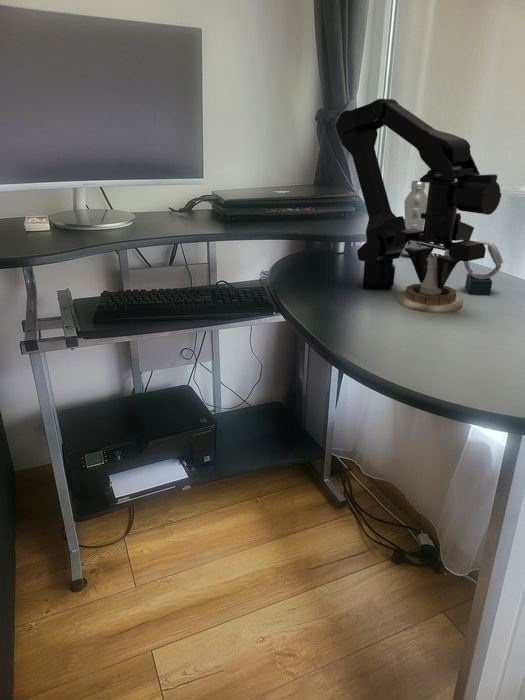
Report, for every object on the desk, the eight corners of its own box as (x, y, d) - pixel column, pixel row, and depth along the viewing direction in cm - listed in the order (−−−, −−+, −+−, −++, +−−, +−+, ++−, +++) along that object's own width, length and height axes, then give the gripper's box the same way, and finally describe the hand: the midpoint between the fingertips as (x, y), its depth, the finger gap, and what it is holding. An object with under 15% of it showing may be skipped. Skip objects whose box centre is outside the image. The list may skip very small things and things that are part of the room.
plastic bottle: (399, 258, 143) (407, 182, 135) (397, 252, 149) (405, 180, 141) (423, 258, 142) (432, 183, 134) (420, 253, 148) (429, 180, 140)
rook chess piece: (443, 291, 107) (449, 253, 104) (438, 297, 104) (443, 258, 100) (422, 288, 109) (427, 251, 106) (416, 293, 106) (420, 255, 103)
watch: (499, 295, 111) (508, 245, 106) (460, 294, 112) (468, 243, 108) (494, 288, 116) (503, 239, 111) (456, 286, 117) (464, 238, 113)
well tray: (398, 310, 103) (399, 297, 102) (396, 291, 114) (398, 280, 113) (466, 314, 100) (468, 301, 99) (458, 294, 112) (459, 283, 111)
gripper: (510, 210, 96) (495, 290, 103) (431, 199, 111) (422, 269, 117) (472, 216, 91) (459, 299, 97) (394, 203, 105) (387, 277, 112)
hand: (431, 285), depth 106 cm, fingers closed on rook chess piece, 4 cm apart
